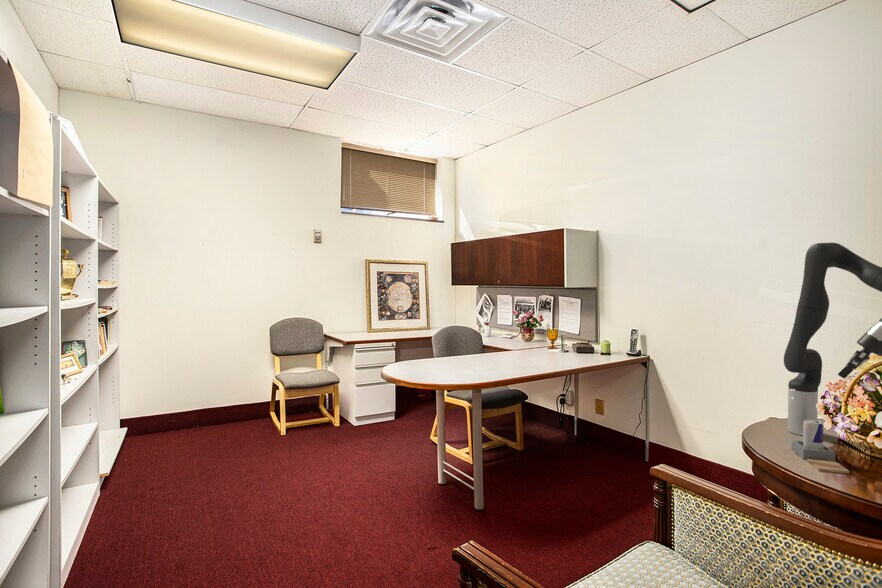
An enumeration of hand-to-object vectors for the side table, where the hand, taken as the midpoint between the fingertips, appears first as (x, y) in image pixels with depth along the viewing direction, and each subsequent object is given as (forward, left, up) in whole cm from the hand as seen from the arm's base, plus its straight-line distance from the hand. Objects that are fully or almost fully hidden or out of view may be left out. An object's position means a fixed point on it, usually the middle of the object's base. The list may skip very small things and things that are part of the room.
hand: (841, 375), depth 157 cm
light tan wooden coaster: (+10, -8, -28) cm, 31 cm away
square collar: (0, -8, -28) cm, 29 cm away
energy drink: (0, -8, -29) cm, 30 cm away
